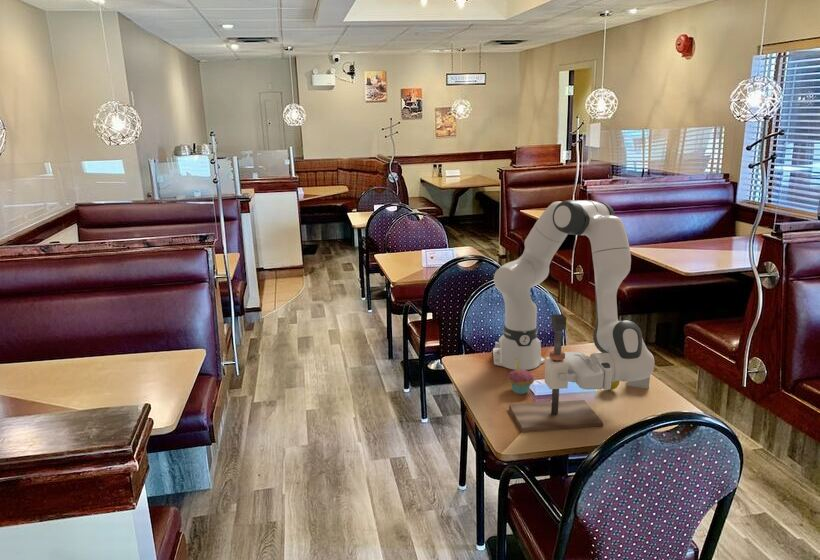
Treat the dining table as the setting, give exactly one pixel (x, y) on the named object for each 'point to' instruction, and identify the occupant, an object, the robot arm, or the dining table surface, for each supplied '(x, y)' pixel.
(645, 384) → the grey rectangular block
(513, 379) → the cupcake
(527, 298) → the robot arm
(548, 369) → the sleeve
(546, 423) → the post stand
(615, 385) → the lemon
